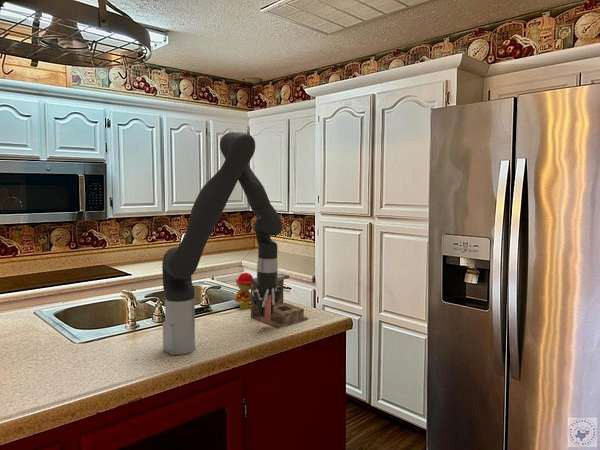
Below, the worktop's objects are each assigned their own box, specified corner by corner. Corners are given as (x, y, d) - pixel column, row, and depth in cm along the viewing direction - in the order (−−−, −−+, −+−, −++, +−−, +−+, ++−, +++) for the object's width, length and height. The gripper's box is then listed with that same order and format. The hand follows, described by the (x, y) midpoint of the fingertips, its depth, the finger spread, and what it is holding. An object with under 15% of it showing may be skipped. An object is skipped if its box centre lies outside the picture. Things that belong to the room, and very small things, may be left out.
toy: (254, 311, 186) (254, 276, 184) (232, 310, 186) (232, 275, 184) (257, 303, 197) (257, 270, 195) (236, 303, 197) (237, 269, 196)
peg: (265, 323, 163) (265, 296, 162) (259, 320, 165) (259, 294, 164) (272, 321, 165) (273, 294, 164) (266, 318, 168) (267, 292, 167)
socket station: (277, 328, 166) (278, 287, 164) (250, 317, 178) (251, 278, 176) (308, 319, 177) (309, 280, 175) (280, 309, 189) (281, 273, 187)
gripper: (258, 273, 155) (257, 321, 157) (288, 269, 165) (286, 314, 167) (245, 270, 161) (244, 316, 163) (275, 265, 171) (273, 309, 172)
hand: (266, 315), depth 165 cm, fingers closed on peg, 3 cm apart
